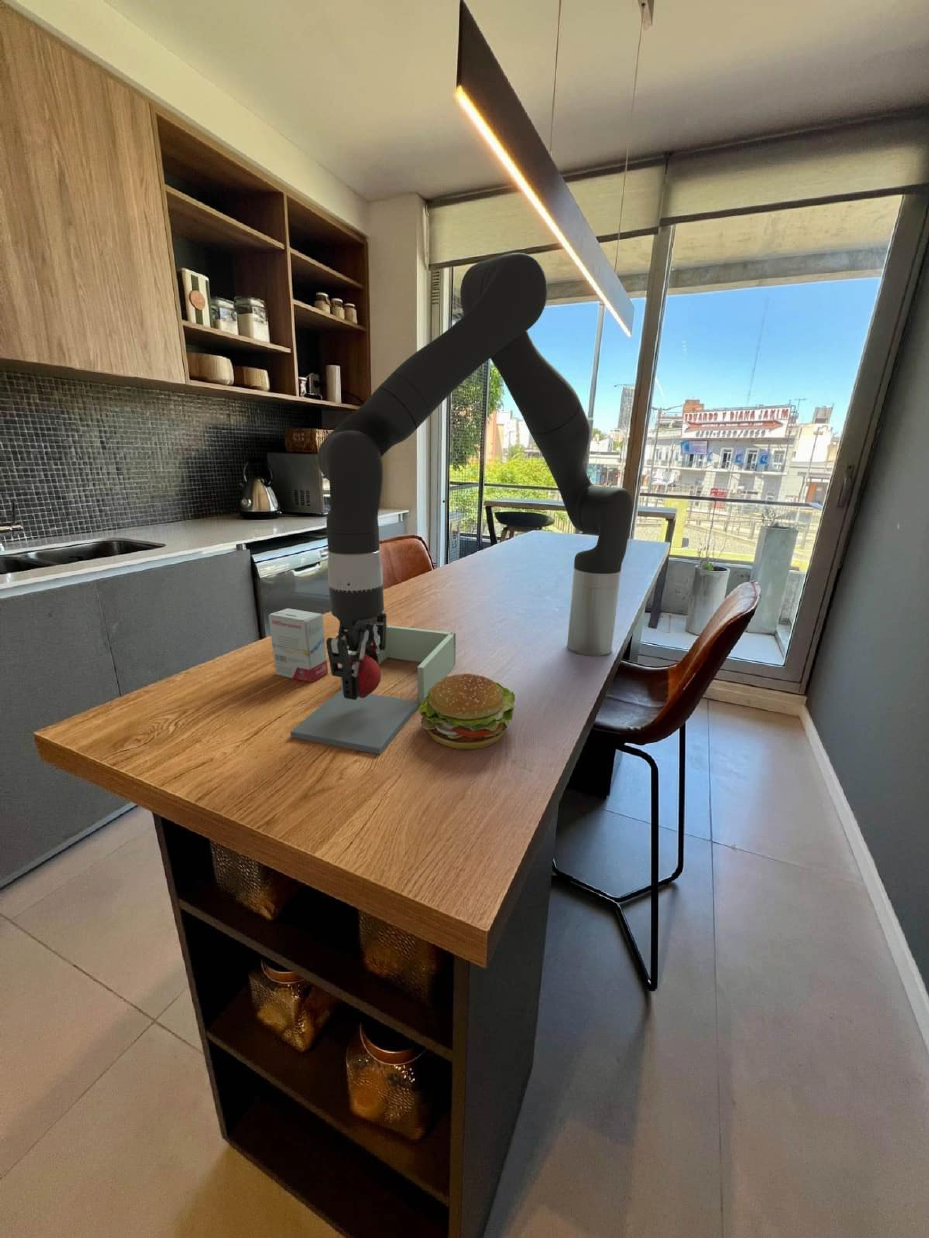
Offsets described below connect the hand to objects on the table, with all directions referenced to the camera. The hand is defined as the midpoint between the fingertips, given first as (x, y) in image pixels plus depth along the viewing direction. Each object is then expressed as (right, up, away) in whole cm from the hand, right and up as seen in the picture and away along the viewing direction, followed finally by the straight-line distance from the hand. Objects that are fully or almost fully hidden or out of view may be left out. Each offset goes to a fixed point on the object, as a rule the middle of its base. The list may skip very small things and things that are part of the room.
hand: (362, 688), depth 75 cm
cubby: (+4, 0, +14) cm, 15 cm away
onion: (0, -2, +1) cm, 2 cm away
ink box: (-14, 0, +15) cm, 21 cm away
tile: (0, -5, 0) cm, 5 cm away
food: (+16, -6, -2) cm, 18 cm away
